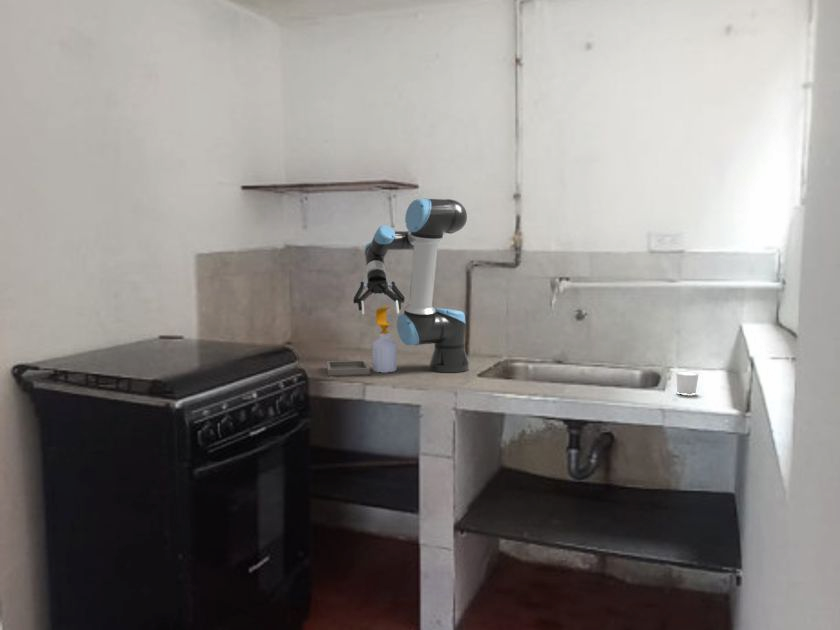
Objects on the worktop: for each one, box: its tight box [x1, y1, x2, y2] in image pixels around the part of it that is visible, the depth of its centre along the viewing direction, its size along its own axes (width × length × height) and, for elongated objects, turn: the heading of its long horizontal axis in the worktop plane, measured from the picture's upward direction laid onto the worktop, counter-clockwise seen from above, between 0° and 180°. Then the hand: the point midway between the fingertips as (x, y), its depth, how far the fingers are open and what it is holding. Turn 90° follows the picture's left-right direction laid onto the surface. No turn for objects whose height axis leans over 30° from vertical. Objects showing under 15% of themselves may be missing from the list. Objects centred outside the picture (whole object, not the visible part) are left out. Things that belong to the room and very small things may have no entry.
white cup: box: [675, 371, 699, 394], centre depth 234 cm, size 7×7×7 cm
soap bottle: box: [371, 306, 397, 374], centre depth 269 cm, size 9×9×25 cm
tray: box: [326, 360, 371, 377], centre depth 268 cm, size 15×16×3 cm
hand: (380, 315), depth 277 cm, fingers open, 13 cm apart
